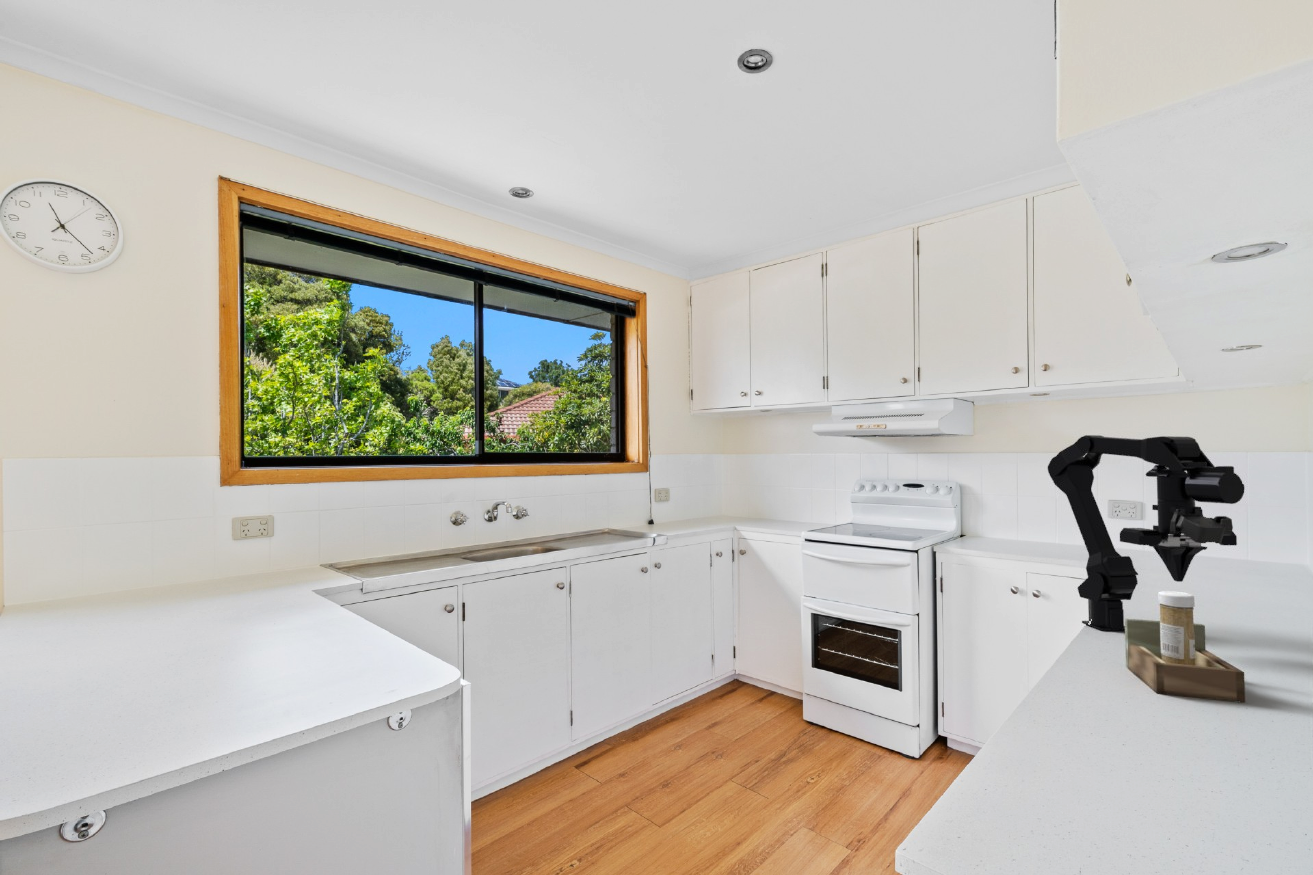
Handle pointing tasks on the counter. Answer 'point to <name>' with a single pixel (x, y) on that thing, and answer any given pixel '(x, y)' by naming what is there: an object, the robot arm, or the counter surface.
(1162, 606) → the spice jar
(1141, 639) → the drawer
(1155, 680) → the walnut caddy
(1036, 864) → the counter surface
